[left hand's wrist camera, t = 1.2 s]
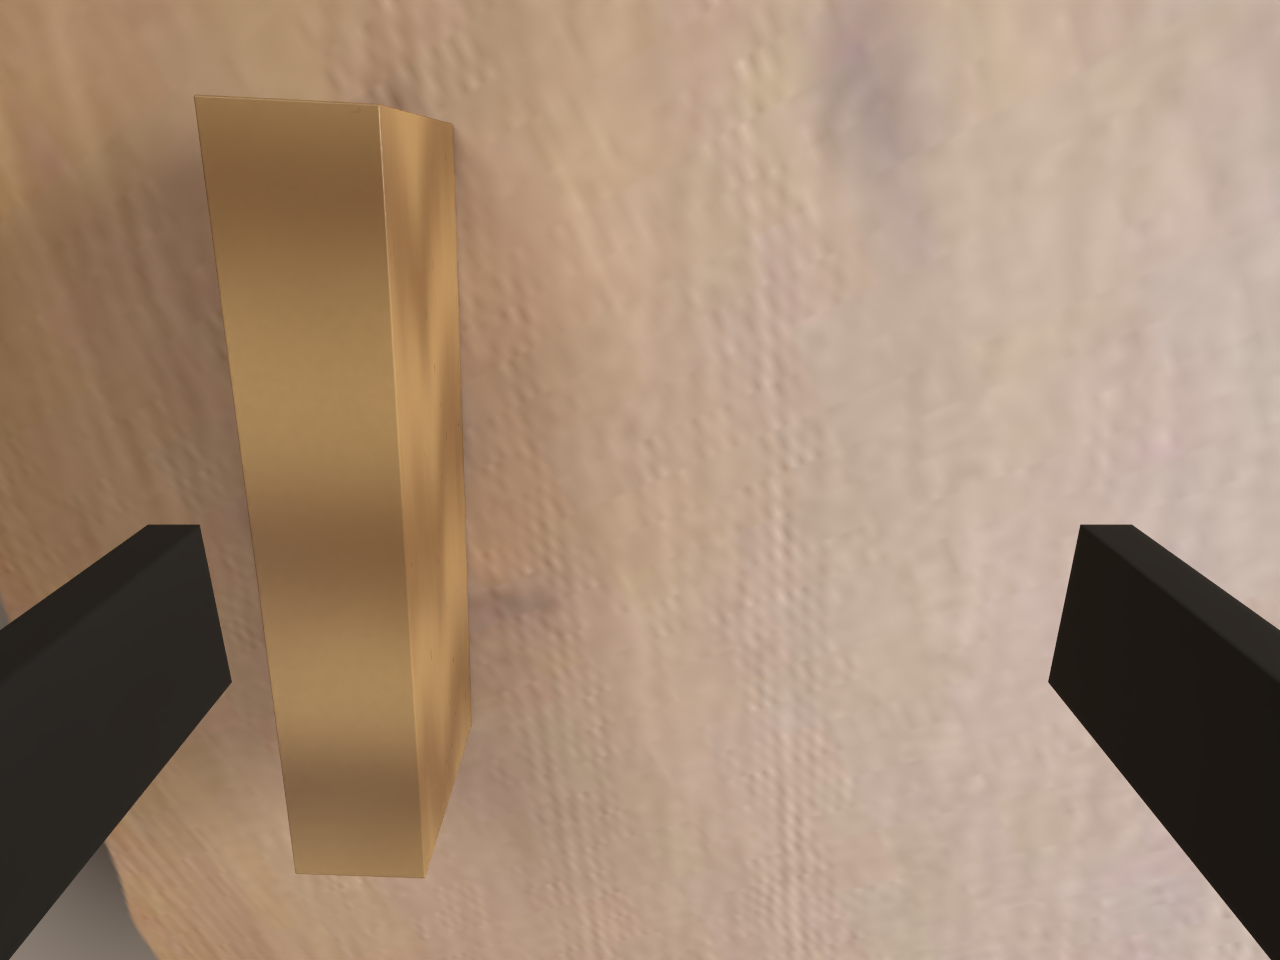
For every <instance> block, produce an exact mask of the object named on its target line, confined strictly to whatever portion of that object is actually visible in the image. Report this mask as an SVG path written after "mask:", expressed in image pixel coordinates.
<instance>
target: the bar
mask: <svg viewBox="0 0 1280 960" xmlns="http://www.w3.org/2000/svg"><path fill="white" fill-rule="evenodd" d="M194 101H195V108H196V116H197V124H198V131H199V139H200V147H201V154H202V162H203V170H204V177H205V185H206V193H207V200H208V208H209V215H210V223H211V231H212V238H213V246H214V254H215V261H216V269H217V277H218V284H219V292H220V300H221V307H222V315H223V322H224V330H225V338H226V345H227V353H228V361H229V368H230V376H231V384H232V391H233V399H234V407H235V414H236V422H237V429H238V437H239V445H240V452H241V460H242V468H243V475H244V483H245V491H246V498H247V506H248V514H249V521H250V529H251V536H252V544H253V552H254V559H255V567H256V575H257V582H258V590H259V598H260V605H261V613H262V621H263V628H264V636H265V643H266V651H267V659H268V666H269V674H270V682H271V689H272V697H273V705H274V712H275V720H276V728H277V735H278V743H279V750H280V758H281V766H282V773H283V781H284V789H285V796H286V804H287V812H288V819H289V827H290V835H291V842H292V850H293V857H294V865H295V873H296V874H318V875H347V876H375V877H404V878H425V876H426V873H427V870H428V867H429V863H430V860H431V857H432V854H433V850H434V847H435V844H436V840H437V837H438V834H439V831H440V827H441V824H442V821H443V817H444V814H445V811H446V808H447V804H448V801H449V798H450V794H451V791H452V788H453V785H454V781H455V778H456V775H457V772H458V768H459V765H460V762H461V758H462V755H463V752H464V749H465V745H466V742H467V739H468V735H469V732H470V729H471V726H472V722H471V689H470V657H469V624H468V592H467V560H466V527H465V495H464V462H463V430H462V397H461V365H460V333H459V300H458V268H457V235H456V203H455V170H454V138H453V124H450V123H447V122H443V121H439V120H435V119H432V118H428V117H424V116H421V115H417V114H413V113H409V112H406V111H402V110H398V109H394V108H391V107H387V106H383V105H380V104H368V103H348V102H328V101H308V100H289V99H269V98H249V97H229V96H209V95H195V96H194Z"/></svg>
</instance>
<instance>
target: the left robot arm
mask: <svg viewBox="0 0 1280 960" xmlns="http://www.w3.org/2000/svg"><path fill="white" fill-rule="evenodd" d="M231 682H232V681H231V676H230V671H229V666H228V661H227V656H226V651H225V647H224V642H223V637H222V632H221V627H220V622H219V617H218V612H217V608H216V603H215V598H214V593H213V588H212V583H211V578H210V573H209V569H208V564H207V559H206V554H205V549H204V544H203V539H202V534H201V530H200V525H147V526H146V527H144V528H143V529H141V530H140V531H139V532H137V533H136V534H134V535H133V536H132V537H130V538H129V539H127V540H126V541H125V542H123V543H122V544H120V545H119V546H118V547H116V548H115V549H113V550H112V551H111V552H109V553H108V554H106V555H105V556H104V557H102V558H101V559H99V560H98V561H97V562H95V563H94V564H92V565H91V566H90V567H88V568H87V569H85V570H84V571H83V572H81V573H80V574H78V575H77V576H76V577H74V578H73V579H71V580H70V581H69V582H67V583H66V584H64V585H63V586H62V587H60V588H59V589H57V590H56V591H55V592H53V593H52V594H50V595H49V596H48V597H46V598H45V599H43V600H42V601H41V602H39V603H38V604H36V605H35V606H34V607H32V608H31V609H29V610H28V611H27V612H25V613H24V614H22V615H21V616H20V617H18V618H17V619H15V620H14V621H13V622H11V623H10V624H8V625H7V626H6V627H4V628H3V629H1V630H0V960H9V959H10V958H11V957H12V955H13V954H14V953H15V952H16V950H17V949H18V948H19V946H20V945H21V944H22V943H23V942H24V940H25V939H26V938H27V937H28V935H29V934H30V933H31V932H32V930H33V929H34V928H35V927H36V925H37V924H38V923H39V922H40V920H41V919H42V918H43V917H44V915H45V914H46V913H47V912H48V910H49V909H50V908H51V907H52V905H53V904H54V903H55V902H56V900H57V899H58V898H59V897H60V895H61V894H62V893H63V892H64V890H65V889H66V888H67V887H68V885H69V884H70V883H71V882H72V880H73V879H74V878H75V877H76V875H77V874H78V873H79V872H80V871H81V869H82V868H83V867H84V866H85V864H86V863H87V862H88V861H89V859H90V858H91V857H92V856H93V854H94V853H95V852H96V851H97V849H98V848H99V847H100V846H101V844H102V843H103V842H104V841H105V839H106V838H107V837H108V836H109V834H110V833H111V832H112V831H113V829H114V828H115V827H116V826H117V824H118V823H119V822H120V821H121V819H122V818H123V817H124V816H125V814H126V813H127V812H128V811H129V810H130V808H131V807H132V806H133V805H134V803H135V802H136V801H137V800H138V798H139V797H140V796H141V795H142V793H143V792H144V791H145V790H146V788H147V787H148V786H149V785H150V783H151V782H152V781H153V780H154V778H155V777H156V776H157V775H158V773H159V772H160V771H161V770H162V768H163V767H164V766H165V765H166V763H167V762H168V761H169V760H170V758H171V757H172V756H173V755H174V753H175V752H176V751H177V750H178V748H179V747H180V746H181V745H182V743H183V742H184V741H185V740H186V738H187V737H188V736H189V735H190V734H191V732H192V731H193V730H194V729H195V727H196V726H197V725H198V724H199V722H200V721H201V720H202V719H203V717H204V716H205V715H206V714H207V712H208V711H209V710H210V709H211V707H212V706H213V705H214V704H215V702H216V701H217V700H218V699H219V697H220V696H221V695H222V694H223V692H224V691H225V690H226V689H227V687H228V686H229V685H230V684H231ZM1048 682H1049V684H1050V685H1051V686H1052V687H1053V689H1054V690H1055V691H1056V692H1057V694H1058V695H1059V696H1060V697H1061V699H1062V700H1063V701H1064V702H1065V704H1066V705H1067V706H1068V707H1069V709H1070V710H1071V711H1072V712H1073V714H1074V715H1075V716H1076V717H1077V719H1078V720H1079V721H1080V722H1081V724H1082V725H1083V726H1084V727H1085V729H1086V730H1087V731H1088V732H1089V734H1090V735H1091V736H1092V737H1093V738H1094V740H1095V741H1096V742H1097V743H1098V745H1099V746H1100V747H1101V748H1102V750H1103V751H1104V752H1105V753H1106V755H1107V756H1108V757H1109V758H1110V760H1111V761H1112V762H1113V763H1114V765H1115V766H1116V767H1117V768H1118V770H1119V771H1120V772H1121V773H1122V775H1123V776H1124V777H1125V778H1126V780H1127V781H1128V782H1129V783H1130V785H1131V786H1132V787H1133V788H1134V790H1135V791H1136V792H1137V793H1138V795H1139V796H1140V797H1141V798H1142V800H1143V801H1144V802H1145V803H1146V805H1147V806H1148V807H1149V808H1150V810H1151V811H1152V812H1153V813H1154V814H1155V816H1156V817H1157V818H1158V819H1159V821H1160V822H1161V823H1162V824H1163V826H1164V827H1165V828H1166V829H1167V831H1168V832H1169V833H1170V834H1171V836H1172V837H1173V838H1174V839H1175V841H1176V842H1177V843H1178V844H1179V846H1180V847H1181V848H1182V849H1183V851H1184V852H1185V853H1186V854H1187V856H1188V857H1189V858H1190V859H1191V861H1192V862H1193V863H1194V864H1195V866H1196V867H1197V868H1198V869H1199V871H1200V872H1201V873H1202V874H1203V876H1204V877H1205V878H1206V879H1207V881H1208V882H1209V883H1210V884H1211V886H1212V887H1213V888H1214V889H1215V890H1216V892H1217V893H1218V894H1219V895H1220V897H1221V898H1222V899H1223V900H1224V902H1225V903H1226V904H1227V905H1228V907H1229V908H1230V909H1231V910H1232V912H1233V913H1234V914H1235V915H1236V917H1237V918H1238V919H1239V920H1240V922H1241V923H1242V924H1243V925H1244V927H1245V928H1246V929H1247V930H1248V932H1249V933H1250V934H1251V935H1252V937H1253V938H1254V939H1255V940H1256V942H1257V943H1258V944H1259V945H1260V947H1261V948H1262V949H1263V950H1264V952H1265V953H1266V954H1267V955H1268V957H1269V958H1270V959H1271V960H1280V630H1279V629H1277V628H1276V627H1274V626H1273V625H1272V624H1270V623H1269V622H1267V621H1266V620H1265V619H1263V618H1262V617H1260V616H1259V615H1258V614H1256V613H1255V612H1253V611H1252V610H1251V609H1249V608H1248V607H1246V606H1245V605H1244V604H1242V603H1241V602H1239V601H1238V600H1237V599H1235V598H1234V597H1232V596H1231V595H1230V594H1228V593H1227V592H1225V591H1224V590H1223V589H1221V588H1220V587H1218V586H1217V585H1216V584H1214V583H1213V582H1211V581H1210V580H1209V579H1207V578H1206V577H1204V576H1203V575H1202V574H1200V573H1199V572H1197V571H1196V570H1195V569H1193V568H1192V567H1190V566H1189V565H1188V564H1186V563H1185V562H1183V561H1182V560H1181V559H1179V558H1178V557H1176V556H1175V555H1174V554H1172V553H1171V552H1169V551H1168V550H1167V549H1165V548H1164V547H1162V546H1161V545H1160V544H1158V543H1157V542H1155V541H1154V540H1153V539H1151V538H1150V537H1148V536H1147V535H1146V534H1144V533H1143V532H1141V531H1140V530H1139V529H1137V528H1136V527H1134V526H1133V525H1080V529H1079V534H1078V539H1077V544H1076V549H1075V554H1074V559H1073V564H1072V569H1071V573H1070V578H1069V583H1068V588H1067V593H1066V598H1065V603H1064V608H1063V612H1062V617H1061V622H1060V627H1059V632H1058V637H1057V642H1056V647H1055V651H1054V656H1053V661H1052V666H1051V671H1050V676H1049V681H1048Z"/></svg>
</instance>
